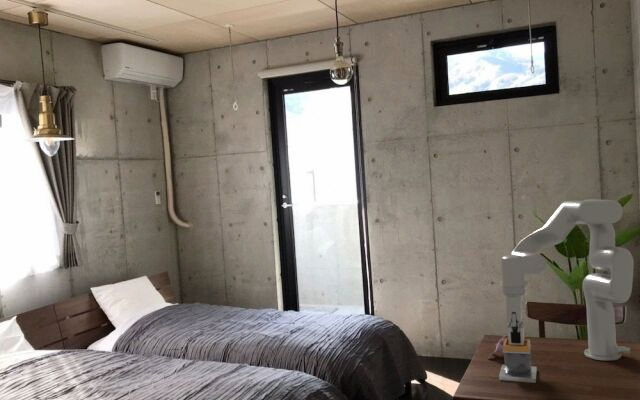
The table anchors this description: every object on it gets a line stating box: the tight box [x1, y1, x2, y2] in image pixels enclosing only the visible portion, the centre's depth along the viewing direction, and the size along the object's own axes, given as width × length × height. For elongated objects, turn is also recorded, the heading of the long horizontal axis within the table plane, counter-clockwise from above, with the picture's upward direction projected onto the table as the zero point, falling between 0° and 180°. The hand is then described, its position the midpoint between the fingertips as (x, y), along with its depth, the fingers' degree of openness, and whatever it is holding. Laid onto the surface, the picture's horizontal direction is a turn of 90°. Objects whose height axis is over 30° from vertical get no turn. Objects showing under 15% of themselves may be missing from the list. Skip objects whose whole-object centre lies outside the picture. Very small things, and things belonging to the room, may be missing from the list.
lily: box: [488, 333, 508, 358], centre depth 222 cm, size 12×12×10 cm
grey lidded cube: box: [507, 321, 525, 345], centre depth 202 cm, size 5×5×7 cm
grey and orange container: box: [498, 338, 538, 384], centre depth 202 cm, size 12×12×12 cm
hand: (516, 339), depth 202 cm, fingers closed on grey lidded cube, 5 cm apart
